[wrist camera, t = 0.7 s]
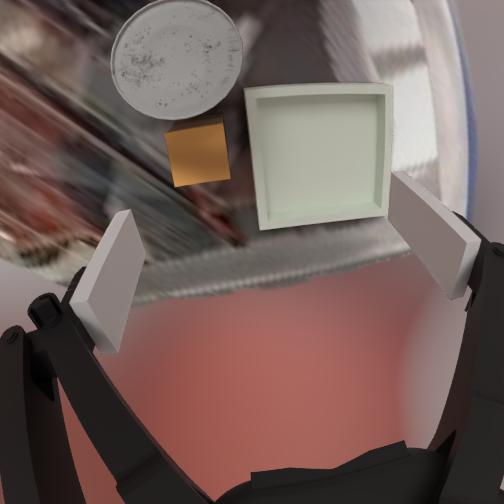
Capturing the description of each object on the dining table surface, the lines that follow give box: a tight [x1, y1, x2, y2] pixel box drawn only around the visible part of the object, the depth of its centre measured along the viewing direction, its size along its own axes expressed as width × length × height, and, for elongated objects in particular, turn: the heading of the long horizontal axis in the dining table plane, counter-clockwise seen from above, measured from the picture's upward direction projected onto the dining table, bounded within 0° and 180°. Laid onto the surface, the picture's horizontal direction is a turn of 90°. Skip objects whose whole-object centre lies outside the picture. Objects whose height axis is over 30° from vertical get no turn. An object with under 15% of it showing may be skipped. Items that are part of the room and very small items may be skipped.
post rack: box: [149, 0, 231, 187], centre depth 26 cm, size 23×5×8 cm, turn 6°
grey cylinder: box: [110, 0, 243, 120], centre depth 24 cm, size 10×10×12 cm
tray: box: [243, 83, 393, 230], centre depth 35 cm, size 16×16×3 cm
